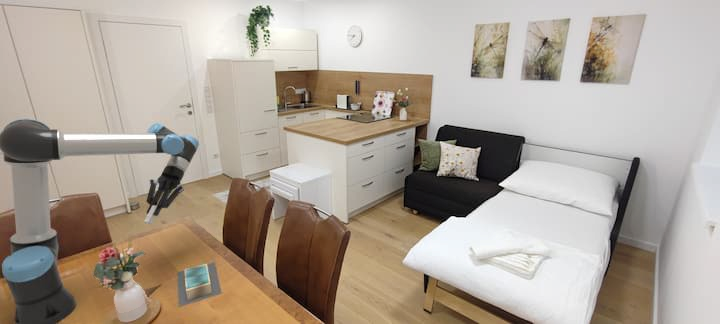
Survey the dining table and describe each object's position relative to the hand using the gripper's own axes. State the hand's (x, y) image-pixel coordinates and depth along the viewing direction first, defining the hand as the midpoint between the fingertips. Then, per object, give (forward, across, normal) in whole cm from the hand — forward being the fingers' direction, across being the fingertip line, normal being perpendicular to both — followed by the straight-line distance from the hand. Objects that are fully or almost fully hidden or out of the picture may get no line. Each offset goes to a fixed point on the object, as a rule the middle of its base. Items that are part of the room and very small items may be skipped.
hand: (147, 222), depth 124 cm
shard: (+24, -6, -10) cm, 27 cm away
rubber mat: (+16, -24, -10) cm, 30 cm away
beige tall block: (+11, -20, -12) cm, 26 cm away
